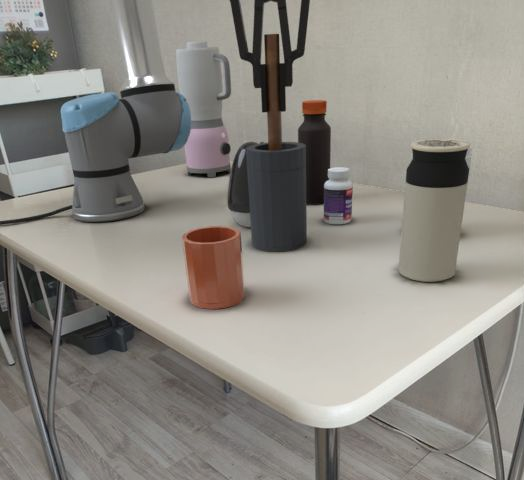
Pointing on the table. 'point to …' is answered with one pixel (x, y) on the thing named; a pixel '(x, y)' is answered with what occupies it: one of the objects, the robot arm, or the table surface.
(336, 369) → the table surface
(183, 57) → the blender
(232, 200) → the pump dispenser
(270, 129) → the brush
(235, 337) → the table surface
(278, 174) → the utensil holder
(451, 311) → the table surface
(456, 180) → the travel mug
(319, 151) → the vinegar
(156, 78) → the robot arm
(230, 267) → the pen pot
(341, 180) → the pill bottle
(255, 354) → the table surface
